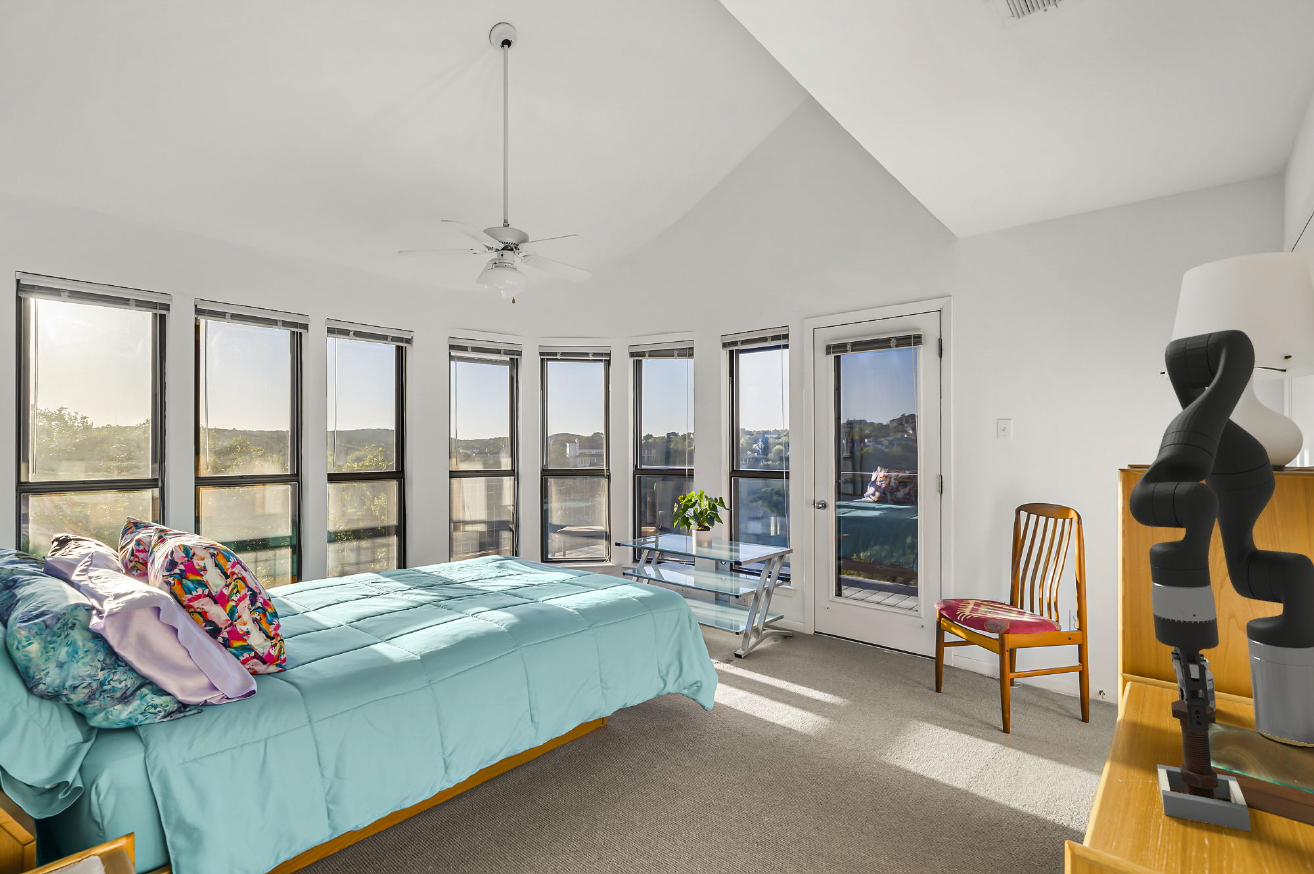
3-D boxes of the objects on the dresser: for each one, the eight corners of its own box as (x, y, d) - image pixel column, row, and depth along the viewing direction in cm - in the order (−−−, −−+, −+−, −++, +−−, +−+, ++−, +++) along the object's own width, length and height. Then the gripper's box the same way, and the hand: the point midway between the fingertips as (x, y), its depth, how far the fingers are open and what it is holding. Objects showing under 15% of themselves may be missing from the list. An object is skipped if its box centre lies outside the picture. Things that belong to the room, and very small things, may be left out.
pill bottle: (1179, 700, 133) (1175, 652, 133) (1216, 705, 129) (1211, 656, 129) (1179, 710, 128) (1174, 661, 128) (1217, 716, 125) (1212, 665, 125)
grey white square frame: (1158, 782, 104) (1157, 763, 104) (1237, 796, 99) (1235, 776, 99) (1164, 814, 96) (1162, 794, 96) (1250, 831, 91) (1248, 810, 91)
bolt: (1225, 819, 94) (1215, 716, 94) (1181, 809, 97) (1172, 710, 97) (1221, 799, 99) (1212, 702, 99) (1179, 791, 102) (1170, 696, 102)
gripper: (1224, 627, 90) (1236, 742, 90) (1208, 601, 102) (1218, 703, 102) (1157, 623, 94) (1168, 733, 94) (1149, 598, 106) (1158, 696, 106)
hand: (1194, 717), depth 98 cm, fingers open, 8 cm apart
